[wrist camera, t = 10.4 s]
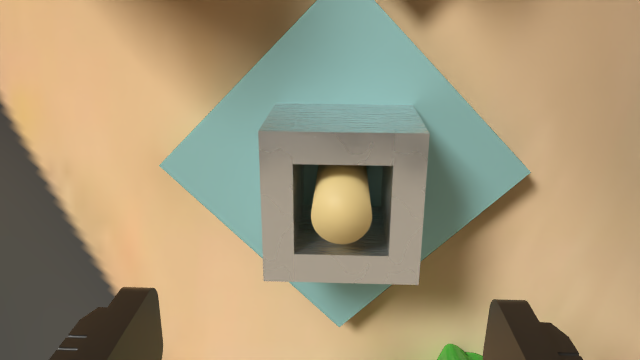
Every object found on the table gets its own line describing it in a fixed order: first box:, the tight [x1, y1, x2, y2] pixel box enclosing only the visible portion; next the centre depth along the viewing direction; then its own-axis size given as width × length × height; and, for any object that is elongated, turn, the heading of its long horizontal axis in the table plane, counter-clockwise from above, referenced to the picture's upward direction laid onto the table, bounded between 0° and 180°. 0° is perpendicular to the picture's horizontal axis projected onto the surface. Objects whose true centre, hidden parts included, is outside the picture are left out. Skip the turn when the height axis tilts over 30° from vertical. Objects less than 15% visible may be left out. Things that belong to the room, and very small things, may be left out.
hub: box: [159, 0, 531, 327], centre depth 23 cm, size 12×12×7 cm
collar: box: [258, 103, 430, 285], centre depth 22 cm, size 6×6×5 cm
